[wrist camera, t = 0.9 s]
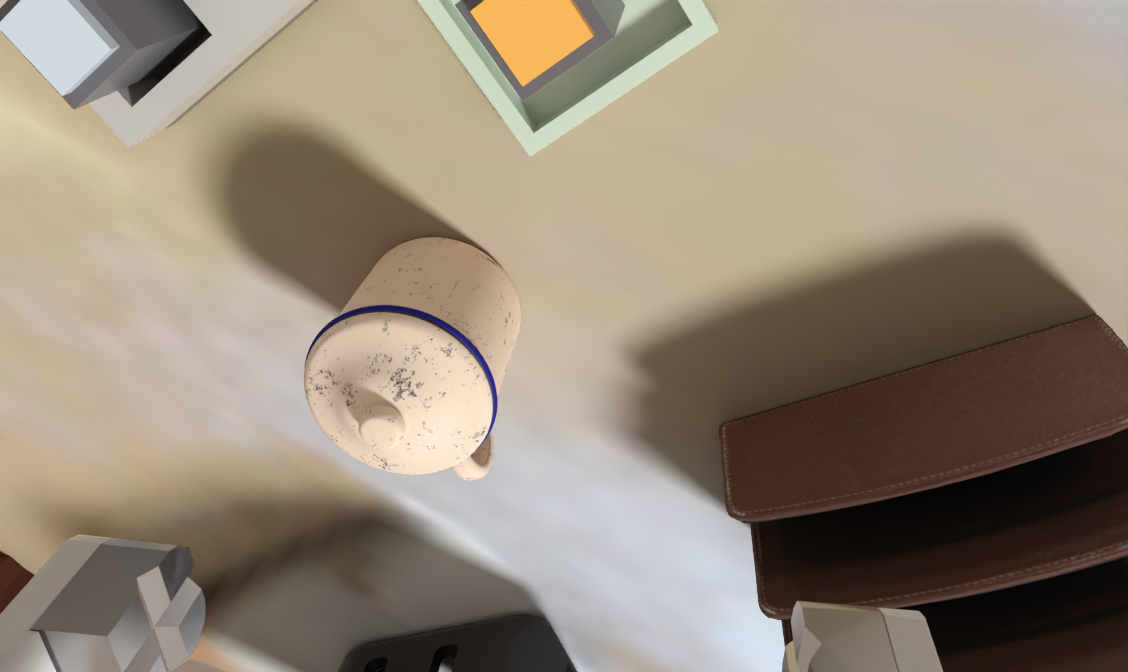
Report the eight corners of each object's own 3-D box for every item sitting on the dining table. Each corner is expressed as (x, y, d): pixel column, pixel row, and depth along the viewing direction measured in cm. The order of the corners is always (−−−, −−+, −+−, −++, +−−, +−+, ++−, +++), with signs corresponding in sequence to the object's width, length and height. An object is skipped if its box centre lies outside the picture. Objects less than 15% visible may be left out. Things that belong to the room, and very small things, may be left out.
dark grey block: (154, -65, 37) (41, -47, 30) (222, 17, 38) (129, 53, 32) (97, -8, 39) (-22, 22, 32) (165, 70, 40) (64, 113, 34)
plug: (570, -83, 35) (544, -67, 28) (625, 5, 36) (612, 40, 30) (492, -22, 37) (450, 7, 30) (548, 60, 38) (520, 105, 32)
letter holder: (1127, 458, 46) (1287, 678, 34) (773, 544, 52) (800, 756, 40) (1098, 308, 42) (1267, 498, 30) (716, 421, 48) (728, 615, 36)
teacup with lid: (333, 261, 45) (235, 378, 35) (482, 206, 43) (421, 316, 33) (434, 431, 50) (373, 576, 40) (573, 392, 48) (544, 536, 38)
